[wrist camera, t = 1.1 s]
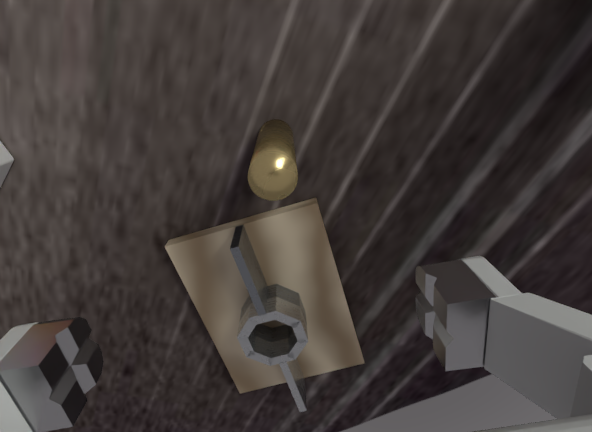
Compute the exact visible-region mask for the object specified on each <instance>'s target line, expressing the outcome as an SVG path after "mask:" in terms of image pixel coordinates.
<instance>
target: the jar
mask: <svg viewBox="0 0 592 432" xmlns="http://www.w3.org/2000/svg"><path fill="white" fill-rule="evenodd" d="M13 161H14V158H13V157H12V155H11V154H10V153H9V151H8V150H7V149H6V148H5V146H4V145H3V144H2V142H1V141H0V188H1V186H2V184H3V182H4V180H5V178H6V176H7V173H8V171H9V169H10V167H11V165H12V163H13Z"/></svg>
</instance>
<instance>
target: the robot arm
mask: <svg viewBox="0 0 592 432" xmlns="http://www.w3.org/2000/svg"><path fill="white" fill-rule="evenodd" d="M415 281H416V283H417V285H418V286H419V288H420V291H419V293H418V294H417V295H416V310H417V315H418V319H419V322H420V325H421V327H422V329H423V331H424V333H425V335H426V336H428V337H430V338H432V339H433V350H434V352H435V353H436V355H437V357H438V359H439V361H440V362H441V364H442V366H443V368H444V370H445V371H451V370H459V369H467V368H476V367H484V369H486V370H487V371H489V372H490V373H492V374H493V375H495V376H496V377H497V378H499V379H500V380H502V381H503V382H505V383H506V384H508V385H509V386H511V387H512V388H514V389H515V390H516V391H518V392H519V393H521V394H522V395H523V396H525V397H526V398H528V399H529V400H531V401H532V402H534V403H535V404H537V405H538V406H540V407H541V408H542V409H544V410H545V411H547V412H548V413H550V414H551V415H552V416H554V417H555V418H557V419H555V420H549V421H542V422H535V423H528V424H521V425H515V426H508V427H501V428H495V429H488V430H481V431H474V432H592V315H591V314H588V313H585V312H582V311H579V310H577V309H574V308H571V307H568V306H565V305H562V304H560V303H557V302H554V301H551V300H548V299H546V298H543V297H540V296H537V295H534V294H531V293H523V294H522V293H521V292H520V291H519V290H518V289H517V288H516V287H515V286H514V285H513V284H511V283H510V282H509V281H508V280H507V279H506V278H505V277H504V276H503V275H502V274H501V273H500V272H499V271H498V270H497V269H496V268H494V267H493V266H492V265H491V264H490V263H489V262H488V261H487V260H486V259H485V258H484V257H482V256H473V257H468V258H463V259H458V260H453V261H447V262H442V263H436V264H430V265H424V266H418V267H417V268H416V272H415ZM91 331H92V330H91V328H90V326H89V324H88V322H87V320H86V319H84V318H81V317H75V318H67V319H60V320H52V321H44V322H39V323H37V322H36V323H30V324H23V325H19V326H16V327H13V328H12V329H11V330H10V331H9V332H8V333H7V334H6V335H5V336H4V337H3V338H2V339H1V340H0V432H45V431H51V430H56V429H62V428H68V427H73V426H74V424H75V422H76V420H77V418H78V416H79V415H80V413H81V411H82V409H83V407H84V406H85V404H86V402H87V398H86V394H85V393H86V392H87V391H89V390H90V389H91V388H92V387H93V386H95V385H96V383H97V381H98V380H99V378H100V376H101V373H102V367H103V356H102V351H101V349H100V347H99V345H98V344H97V343H96V342H94V341H93V340H91V339H89V336H90V333H91Z"/></svg>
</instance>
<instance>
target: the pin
mask: <svg viewBox="0 0 592 432" xmlns="http://www.w3.org/2000/svg"><path fill="white" fill-rule="evenodd" d="M297 181H298V173H297V165H296V157H295V149H294V141H293V133H292V130H291V128H290V127H289V125H288V124H287V123H285V122H284V121H281V120H277V119H274V120H270V121H267V122H266V123H264V124H263V126H262V127H261V129H260V131H259V135H258V138H257V142H256V145H255V149H254V153H253V156H252V160H251V163H250V167H249V171H248V182H249V185H250V187H251V189H252V191H253V192H254V193H255V194H256V195H258V196H259V197H261V198H263V199H265V200H270V201H276V200H281V199H284V198H286V197H287V196H289V195H290V194H291V193H292V192H293V190H294V189H295V187H296V185H297Z"/></svg>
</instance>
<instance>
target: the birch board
mask: <svg viewBox="0 0 592 432" xmlns="http://www.w3.org/2000/svg"><path fill="white" fill-rule="evenodd" d="M239 225H244V227H245V230H246V232H247V235H248V237H249V240H250V242H251V245H252V247H253V250H254V252H255V255H256V257H257V260H258V262H259V265H260V267H261V270H262V272H263V275H264V278H265V280H266V283H267V285H268V286H270V285H273V284H278V285H281V286H283V287H285V288H288V289H290V290H292V291H295V292H297V293H299V295H300V298H301V301H302V303H303V306H304V309H305V312H306V322H307V333H308V343H307V344H306V345H305V347H304V348H303V350H302V351H301V352H300V354H299V355H298V357H297V360H298V363H299V365H300V368H301V370H302V373H303V375H304V378H306V377H310V376H314V375H318V374H322V373H327V372H331V371H335V370H339V369H343V368H347V367H351V366H355V365H359V364H363V363H364V359H363V355H362V352H361V348H360V345H359V342H358V338H357V335H356V331H355V328H354V325H353V321H352V318H351V314H350V311H349V308H348V304H347V301H346V297H345V294H344V291H343V287H342V284H341V281H340V277H339V274H338V270H337V267H336V264H335V260H334V257H333V253H332V250H331V247H330V243H329V240H328V236H327V233H326V230H325V226H324V223H323V220H322V216H321V213H320V209H319V206H318V203H317V199H316V198H312V199H309V200H305V201H302V202H299V203H295V204H292V205H288V206H285V207H281V208H278V209H274V210H271V211H267V212H264V213H260V214H257V215H253V216H250V217H246V218H243V219H240V220H236V221H233V222H229V223H226V224H222V225H219V226H215V227H212V228H208V229H205V230H201V231H198V232H194V233H191V234H187V235H184V236H181V237H177V238H174V239H170V240H168V242H167V244H166V245H165V249H166V251H167V252H168V254H169V256H170V258H171V260H172V262H173V264H174V266H175V268H176V270H177V272H178V274H179V276H180V278H181V280H182V282H183V284H184V286H185V287H186V289H187V291H188V293H189V295H190V297H191V299H192V301H193V303H194V305H195V307H196V309H197V311H198V313H199V315H200V317H201V319H202V321H203V323H204V324H205V326H206V328H207V330H208V332H209V334H210V336H211V338H212V340H213V342H214V344H215V346H216V348H217V350H218V352H219V354H220V356H221V358H222V359H223V361H224V363H225V365H226V367H227V369H228V371H229V373H230V375H231V377H232V379H233V381H234V383H235V385H236V387H237V389H238V391H239V393H240V394H241V393H245V392H249V391H253V390H257V389H261V388H265V387H269V386H273V385H277V384H282V383H286V382H287V381H286V379H285V376H284V374H283V372H282V369H281V367H280V365H279V364H276V365H272V366H269V365H266V364H264V363H261V362H258V361H255V360H253V359H250V358H247V357H246V355H245V353H244V351H243V349H242V347H241V345H240V343H239V341H238V339H237V334H238V328H239V322H240V315H241V309H242V307H243V305H244V303H245V302H246V300H247V298H248V297H249V293H248V290H247V288H246V286H245V283H244V281H243V279H242V276H241V274H240V272H239V269H238V267H237V265H236V262H235V260H234V258H233V255H232V253H231V251H230V246H231V242H232V239H233V235H234V231H235V227H236V226H239ZM261 324H263V325H266V326H268V327H271V328H274V327H278V326H282V325H285V324H284V323H282V322H279V321H277V320H272V321H268V322H264V323H261Z"/></svg>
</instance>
